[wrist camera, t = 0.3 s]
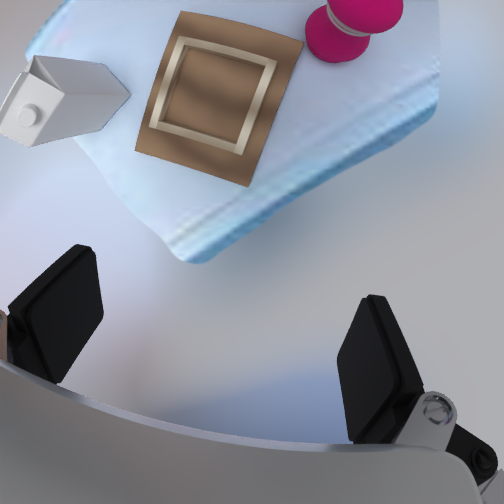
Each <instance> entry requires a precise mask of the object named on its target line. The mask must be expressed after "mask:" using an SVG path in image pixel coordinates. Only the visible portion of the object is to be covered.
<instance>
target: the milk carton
mask: <svg viewBox="0 0 504 504" xmlns="http://www.w3.org/2000/svg"><path fill="white" fill-rule="evenodd" d="M130 96H131V94H130V93H129V92H128V91H127V90H126V88H125V87H124V86H123V85H122V84H121V83H120V82H119V81H118V80H117V78H116V77H115V76H114V75H113V74H112V73H111V72H110V71H109V70H108V69H107V67H106V66H105V65H104V64H99V63H93V62H87V61H80V60H73V59H66V58H57V57H48V56H37V55H34V56H33V58H32V59H31V61H30V62H29V64H28V65H27V67H26V68H25V70H24V72H21V73H20V74H19V76H18V77H17V79H16V81H15V82H14V84H13V86H12V88H11V89H10V91H9V93H8V95H7V97H6V99H5V100H4V102H3V104H2V106H1V108H0V134H3V135H4V136H7V137H9V138H11V139H13V140H15V141H17V142H19V143H21V144H23V145H25V146H27V147H33V146H36V145H40V144H44V143H48V142H51V141H55V140H59V139H64V138H68V137H72V136H77V135H81V134H86V133H91V132H96V131H100V130H101V129H102V128H103V126H104V125H105V124H106V123H107V122H108V121H109V119H110V118H111V117H112V116H113V115H114V114H115V112H116V111H117V110H118V109H119V108H120V107H121V106H122V105H123V104H124V102H125V101H126V100H127V99H128V98H129V97H130Z"/></svg>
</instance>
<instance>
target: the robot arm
mask: <svg viewBox="0 0 504 504" xmlns="http://www.w3.org/2000/svg"><path fill="white" fill-rule="evenodd" d="M8 309H9V312H10V314H9V315H8V316H7V315H6V314H5V312H3V311H2V310H0V504H504V471H503V470H502V469H500V470H499V471H498V470H497V466H498V460H497V456H496V453H495V451H494V450H493V449H492V448H491V447H490V446H489V445H488V444H486V443H485V442H483V441H482V440H480V439H479V438H477V437H476V436H474V435H473V434H471V433H469V432H468V431H467V430H465V429H464V428H462V427H461V426H459V425H458V424H456V420H457V411H456V408H455V406H454V404H453V402H452V401H451V400H450V399H449V398H448V397H447V396H445V395H444V394H441V393H439V392H434V391H431V392H426V393H425V392H424V389H423V382H422V379H421V377H420V375H419V372H418V369H417V367H416V364H415V362H414V360H413V357H412V355H411V352H410V350H409V348H408V345H407V343H406V341H405V339H404V336H403V334H402V332H401V329H400V327H399V325H398V323H397V321H396V319H395V316H394V314H393V312H392V310H391V308H390V305H389V304H388V301H387V299H386V298H385V297H384V296H378V295H371V294H370V295H368V296H367V297H366V298H362V300H361V302H360V304H359V307H358V309H357V312H356V314H355V316H354V319H353V321H352V323H351V326H350V328H349V330H348V333H347V335H346V337H345V339H344V342H343V344H342V346H341V348H340V351H339V353H338V356H337V367H338V373H339V379H340V384H341V391H342V397H343V403H344V409H345V417H346V424H347V431H348V438H349V440H350V441H353V444H321V443H299V442H285V441H274V440H265V439H264V440H263V439H256V438H248V437H241V436H234V435H228V434H221V433H216V432H210V431H205V430H200V429H195V428H190V427H186V426H181V425H177V424H172V423H168V422H164V421H160V420H156V419H153V418H149V417H146V416H142V415H139V414H135V413H132V412H129V411H125V410H122V409H119V408H116V407H113V406H110V405H107V404H104V403H101V402H98V401H96V400H93V399H90V398H88V397H85V396H82V395H79V394H77V393H75V392H72V391H70V390H67V389H65V388H62V387H60V386H58V385H56V384H57V383H61V382H62V380H63V379H64V377H65V375H66V374H67V372H68V371H69V369H70V368H71V366H72V364H73V363H74V361H75V360H76V358H77V357H78V355H79V354H80V352H81V350H82V349H83V347H84V346H85V344H86V343H87V341H88V340H89V338H90V337H91V335H92V334H93V332H94V331H95V329H96V328H97V326H98V325H99V324H100V322H101V321H102V319H103V314H104V311H103V304H102V299H101V293H100V285H99V278H98V271H97V262H96V255H95V252H93V251H92V249H91V247H89V246H84V245H79V244H76V245H74V246H73V247H72V248H71V249H69V250H68V251H67V252H66V253H65V254H63V255H62V256H61V257H60V258H59V259H58V260H56V261H55V262H54V263H53V264H52V265H51V266H50V267H49V268H47V269H46V270H45V271H44V272H43V273H42V274H41V275H40V276H39V277H38V278H36V279H35V280H34V281H33V282H32V283H31V284H30V285H29V286H28V287H27V288H26V289H25V290H24V291H23V292H22V293H21V294H20V295H19V296H18V297H17V298H16V299H15V300H14V301H13V302H12V303H11V304H10V305H9V306H8Z"/></svg>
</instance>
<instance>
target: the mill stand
mask: <svg viewBox="0 0 504 504" xmlns="http://www.w3.org/2000/svg"><path fill="white" fill-rule="evenodd" d="M303 44H304V42H301V41H298V40H296V39H293V38H290V37H287V36H284V35H281V34H278V33H275V32H272V31H268V30H265V29H262V28H258V27H255V26H251V25H247V24H243V23H240V22H236V21H231V20H227V19H223V18H218V17H213V16H208V15H203V14H198V13H192V12H186V11H181V12H180V14H179V17H178V19H177V21H176V24H175V26H174V28H173V31H172V33H171V36H170V38H169V41H168V44H167V46H166V49H165V52H164V54H163V57H162V60H161V63H160V65H159V68H158V71H157V74H156V77H155V80H154V83H153V86H152V89H151V93H150V96H149V99H148V102H147V106H146V109H145V113H144V116H143V120H142V123H141V127H140V131H139V135H138V139H137V143H136V147H135V151H137V152H140V153H144V154H147V155H151V156H154V157H157V158H160V159H164V160H167V161H170V162H173V163H177V164H180V165H183V166H186V167H189V168H192V169H195V170H198V171H201V172H204V173H207V174H210V175H213V176H216V177H219V178H222V179H225V180H228V181H231V182H234V183H237V184H239V185H242V186H245V187H248V186H249V184H250V181H251V178H252V175H253V173H254V170H255V167H256V165H257V162H258V159H259V157H260V154H261V151H262V149H263V146H264V143H265V141H266V138H267V135H268V133H269V130H270V128H271V125H272V122H273V120H274V117H275V115H276V112H277V109H278V107H279V104H280V102H281V99H282V97H283V94H284V91H285V89H286V86H287V84H288V81H289V79H290V76H291V74H292V71H293V69H294V66H295V64H296V61H297V59H298V56H299V54H300V51H301V49H302V46H303Z"/></svg>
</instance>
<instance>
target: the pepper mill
mask: <svg viewBox="0 0 504 504" xmlns="http://www.w3.org/2000/svg"><path fill="white" fill-rule="evenodd" d="M327 1H328V3H327V5H324V6H322V7H320V8H318V9H316V10H315V11H314V12H313V13H312V14H311V15H310V17H309V18H308V20H307V23H306V27H305V33H306V41H307V45H308V47H309V49H310V51H311V52H312V53H313V54H314V55H315V56H316V57H318V58H319V59H321V60H323V61H326V62H330V63H338V62H344V61H350V60H353V59H355V58H357V57H359V56H360V55H361V54H362V53H363V52H364V51H365V50H366V48H367V47H368V44H369V40H370V35H371V34H373V33H381V32H384V31H387V30H389V29H391V28H392V27H394V26H395V25H396V23H397V22H398V21H399V20H400V18H401V16H402V12H403V0H327Z"/></svg>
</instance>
